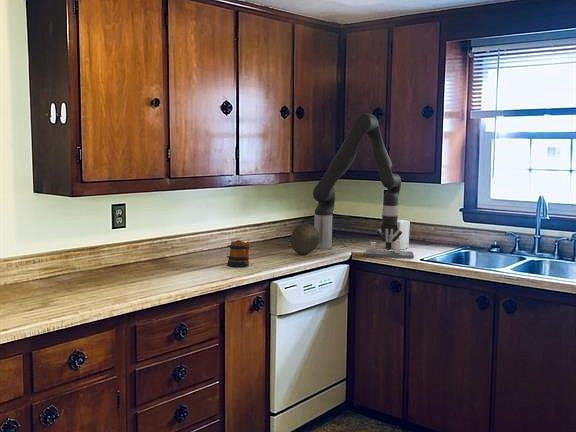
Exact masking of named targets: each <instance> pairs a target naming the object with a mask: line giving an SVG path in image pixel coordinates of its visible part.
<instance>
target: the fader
mask: <svg viewBox="0 0 576 432" xmlns="http://www.w3.org/2000/svg"><path fill="white" fill-rule="evenodd" d="M394 251H395V253H400V251H401V250H400V240H396V241H395V249H394Z"/></svg>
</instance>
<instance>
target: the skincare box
mask: <svg viewBox="0 0 576 432" xmlns="http://www.w3.org/2000/svg"><path fill="white" fill-rule="evenodd" d="M410 224H411V221H409V220H406V219H398V221H397V226H398V229H399V230H400V231H402V234H401V235H400V236H399V237H398V238H397V240H400V249H401V250H407V249H409V246H410V245H409V244H410V229H411V227H410V226H411V225H410ZM396 235H397V231H396V233H395V234H394V235H393V236H392V239H393V238H394V237H395V236H396ZM392 248H393V249H392ZM406 248H407V249H406ZM391 249H392V250H395V241H393V242H392V245H391Z"/></svg>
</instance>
